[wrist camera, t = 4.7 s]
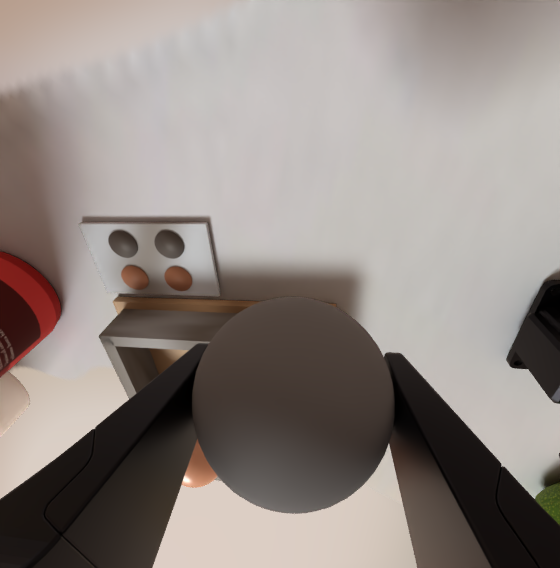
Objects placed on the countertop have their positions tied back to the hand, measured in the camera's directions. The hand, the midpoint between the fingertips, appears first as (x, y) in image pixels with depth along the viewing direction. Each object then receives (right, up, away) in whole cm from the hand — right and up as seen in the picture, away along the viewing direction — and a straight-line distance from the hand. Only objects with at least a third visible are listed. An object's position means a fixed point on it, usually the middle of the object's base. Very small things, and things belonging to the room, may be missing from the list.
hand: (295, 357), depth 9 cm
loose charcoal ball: (0, -1, -1) cm, 1 cm away
